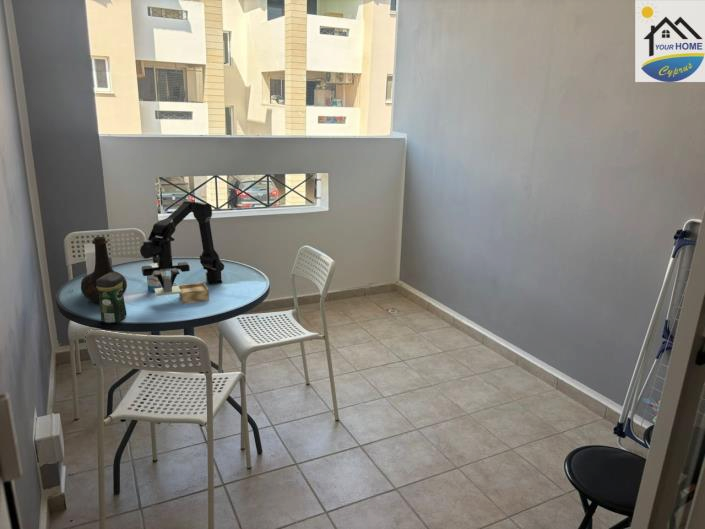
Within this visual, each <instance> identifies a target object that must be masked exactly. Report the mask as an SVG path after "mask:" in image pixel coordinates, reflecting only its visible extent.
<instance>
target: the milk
mask: <svg viewBox="0 0 705 529" xmlns="http://www.w3.org/2000/svg"><path fill="white" fill-rule="evenodd" d="M83 246H84V258H85V266H86V274H87V275H89V274H91V273H93V272H94V269H95V244H92V243H86V244H85V243H84V244H83ZM87 275H86V276H87Z"/></svg>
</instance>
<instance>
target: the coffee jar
mask: <svg viewBox="0 0 705 529" xmlns="http://www.w3.org/2000/svg"><path fill="white" fill-rule="evenodd" d="M119 273H120V272H118V273H108V274H106V275H104V276H102V277H100V278H99V279H97V280H96V282H97V289H98V292H99V298H100V303H99V305H100V306H99V310H100V320H101V322H103V323H105V324H114V323H118V322H121V321H122V320H123V319H125V318H126V317H127V314H128V313H127V308H126V304H125V295H124V294H123V289H122V277H121V275H120V274H121V273H120V274H119Z"/></svg>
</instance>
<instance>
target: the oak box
mask: <svg viewBox="0 0 705 529" xmlns="http://www.w3.org/2000/svg"><path fill="white" fill-rule="evenodd" d="M178 286H179V288H180V290H181V293H178V294H179V298H180V301H181V302H182V304H183V305H185V304H186V305H187V304H193V303H199V302H208V301H210V290H209V288H208V286H207V284H206V283H205V282H195V283H187V284H179V285H178Z"/></svg>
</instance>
